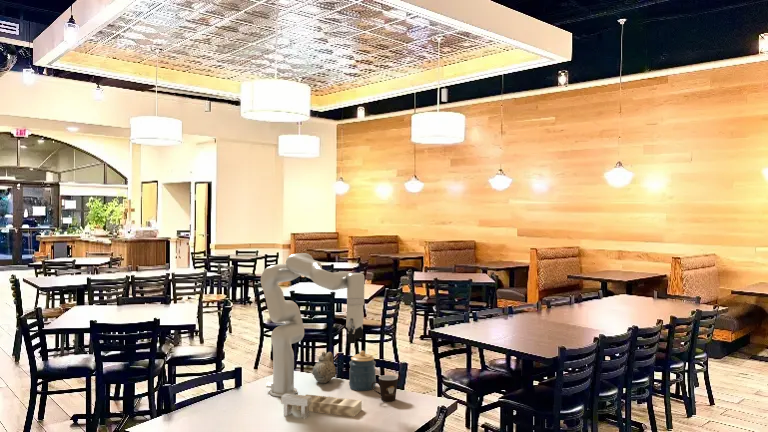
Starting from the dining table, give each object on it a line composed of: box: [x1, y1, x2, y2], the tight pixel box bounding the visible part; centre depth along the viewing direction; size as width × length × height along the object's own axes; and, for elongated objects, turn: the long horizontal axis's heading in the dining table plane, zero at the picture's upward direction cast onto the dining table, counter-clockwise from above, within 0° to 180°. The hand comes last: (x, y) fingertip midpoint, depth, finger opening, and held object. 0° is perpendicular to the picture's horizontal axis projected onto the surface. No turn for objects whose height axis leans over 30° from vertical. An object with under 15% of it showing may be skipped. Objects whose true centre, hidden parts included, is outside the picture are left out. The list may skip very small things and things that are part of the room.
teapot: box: [312, 351, 337, 384], centre depth 292 cm, size 21×12×15 cm, turn 168°
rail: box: [296, 394, 363, 418], centre depth 248 cm, size 26×9×4 cm, turn 71°
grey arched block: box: [280, 394, 312, 419], centre depth 241 cm, size 12×4×8 cm, turn 71°
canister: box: [348, 350, 377, 392], centre depth 282 cm, size 13×13×18 cm
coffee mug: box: [371, 374, 399, 403], centre depth 262 cm, size 12×9×10 cm
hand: (355, 340), depth 253 cm, fingers open, 9 cm apart
